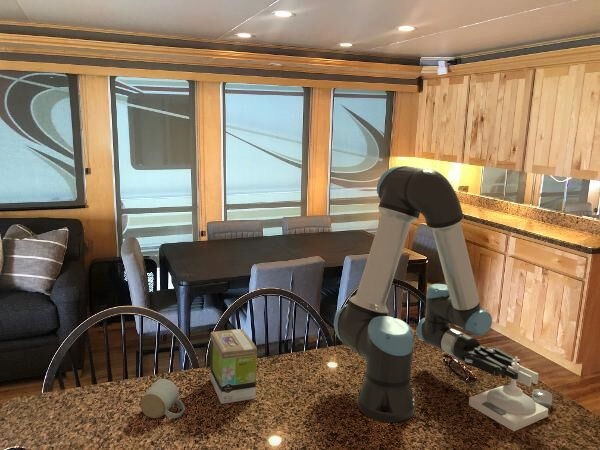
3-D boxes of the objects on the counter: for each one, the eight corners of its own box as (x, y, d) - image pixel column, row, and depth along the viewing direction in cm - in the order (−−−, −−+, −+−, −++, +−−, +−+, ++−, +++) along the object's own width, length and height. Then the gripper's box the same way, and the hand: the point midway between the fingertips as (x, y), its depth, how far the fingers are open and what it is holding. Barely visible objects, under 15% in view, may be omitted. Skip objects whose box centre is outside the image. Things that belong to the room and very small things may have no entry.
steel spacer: (544, 410, 135) (545, 399, 135) (527, 401, 139) (528, 391, 139) (554, 405, 138) (556, 395, 137) (538, 397, 142) (539, 387, 141)
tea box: (257, 399, 135) (258, 347, 133) (220, 405, 132) (220, 352, 129) (242, 373, 149) (243, 327, 146) (209, 378, 145) (209, 330, 143)
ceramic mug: (138, 418, 124) (138, 391, 123) (153, 401, 132) (153, 376, 131) (176, 424, 122) (177, 397, 121) (189, 407, 130) (190, 381, 129)
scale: (513, 431, 124) (515, 420, 124) (468, 404, 136) (469, 394, 136) (547, 416, 132) (548, 406, 131) (501, 392, 143) (502, 382, 143)
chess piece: (525, 397, 131) (529, 361, 129) (506, 396, 131) (510, 361, 129) (517, 387, 136) (521, 353, 134) (499, 387, 136) (503, 352, 134)
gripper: (476, 352, 152) (549, 386, 132) (441, 363, 144) (513, 401, 125) (479, 329, 151) (553, 360, 131) (444, 338, 143) (516, 373, 123)
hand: (533, 380), depth 128 cm, fingers closed on chess piece, 2 cm apart
